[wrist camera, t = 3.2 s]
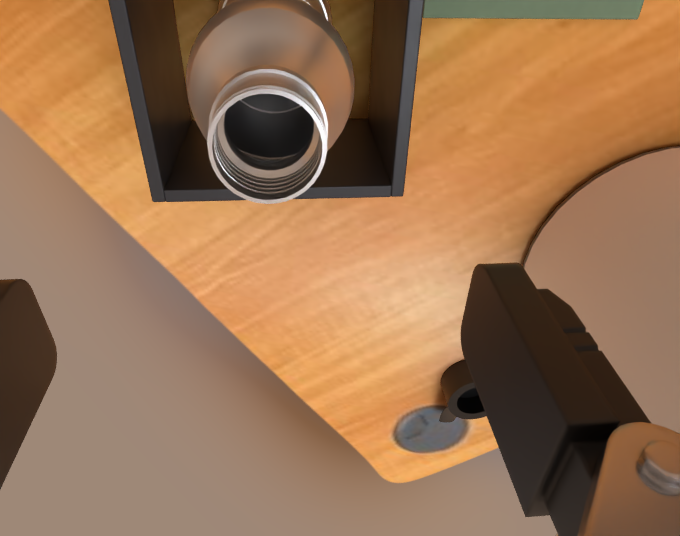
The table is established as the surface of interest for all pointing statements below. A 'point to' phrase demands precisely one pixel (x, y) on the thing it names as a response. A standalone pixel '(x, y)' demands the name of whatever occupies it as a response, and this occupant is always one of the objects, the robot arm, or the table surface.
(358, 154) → the tote
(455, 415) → the black tabbed ring
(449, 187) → the table surface
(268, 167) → the plastic bottle
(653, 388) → the humidifier
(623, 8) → the mat
